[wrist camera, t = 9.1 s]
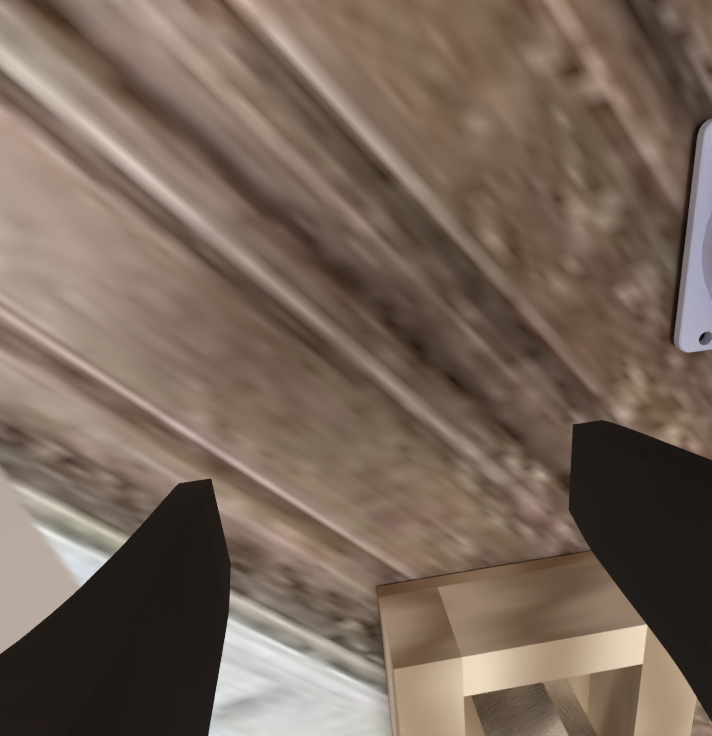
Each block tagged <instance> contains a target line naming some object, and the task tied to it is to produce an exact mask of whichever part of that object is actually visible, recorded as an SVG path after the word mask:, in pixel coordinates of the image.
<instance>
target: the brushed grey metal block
mask: <svg viewBox="0 0 712 736" xmlns="http://www.w3.org/2000/svg"><path fill="white" fill-rule="evenodd" d="M471 696H472V699H473V702H474V705H475V708H476V711H477V714H478V717H479V719H480V722H481V725H482V728H483V731H484V734H485V736H597V734H596V732H595V730H594V728H593V727H592V725H591V723H590V721H589V719H588V717H587V715H586V713H585V711H584V710H583V708H582V706H581V704H580V702H579V700H578V698H577V696H576V695H575V693H574V691H573V689H572V687H571V685H570V683H569V682H568V681H567V680H566V679H565V678H563V679H557V680H552V681H546V682H541V683H535V684H530V685H525V686H519V687H514V688H508V689H503V690H497V691H492V692H486V693H481V694H475V695H471Z"/></svg>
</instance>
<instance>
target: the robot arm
mask: <svg viewBox="0 0 712 736" xmlns="http://www.w3.org/2000/svg"><path fill="white" fill-rule="evenodd" d="M704 332H705V336H704V338H703V339H702V340H701V341H699V338H700V335H701V334H702V333H704ZM674 344H675V346H676V347H677V348H678V349H680V350H682V351H684V352H697V351H704V350H711V349H712V119H709V120H707V121H706V122H705V123H704V124H703V125H702V126H701V128H700V129H699V132H698V136H697V144H696V153H695V161H694V170H693V178H692V187H691V196H690V204H689V213H688V221H687V230H686V239H685V247H684V256H683V265H682V273H681V282H680V290H679V299H678V308H677V316H676V325H675V333H674ZM569 511H570V513H571V515H572V517H573V518H574V520H575V522H576V524H577V526H578V528H579V530H580V532H581V533H582V535H583V537H584V539H585V540H586V542H587V544H588V545H589V547H590V549H591V551H592V552H593V554H594V555H595V556H596V558H597V559H598V561H599V562H600V563H601V565H602V566H603V567H604V569H605V570H606V571H607V573H608V574H609V575H610V577H611V578H612V580H613V581H614V582H615V584H616V585H617V586H618V588H619V589H620V590H621V591H622V593H623V594H624V595H625V597H626V598H627V599H628V601H629V602H630V603H631V605H632V606H633V607H634V609H635V610H636V611H637V613H638V614H639V615H640V617H641V618H642V619H643V620H644V622H645V623H646V624H647V626H648V627H649V628H650V630H651V631H652V632H653V634H654V635H655V636H656V638H657V639H658V640H659V642H660V643H661V644H662V646H663V647H664V648H665V650H666V651H667V652H668V654H669V655H670V657H671V658H672V660H673V661H674V662H675V664H676V665H677V667H678V668H679V670H680V671H681V673H682V674H683V676H684V677H685V679H686V681H687V682H688V684H689V686H690V687H691V689H692V690H693V692H694V694H695V695H696V697H697V699H698V700H699V702H700V703H701V705H702V707H703V708H704V710H705V711H706V713H707V715H708V716H709V718H710V720H711V721H712V460H710V459H707V458H705V457H702V456H699V455H697V454H694V453H692V452H689V451H686V450H684V449H681V448H679V447H676V446H673V445H671V444H668V443H666V442H663V441H661V440H658V439H655V438H653V437H650V436H648V435H645V434H642V433H640V432H637V431H634V430H632V429H629V428H626V427H623V426H620V425H617V424H614V423H611V422H607V421H603V420H600V421H593V422H587V423H580V424H573V435H572V455H571V476H570V496H569ZM230 569H231V563H230V559H229V555H228V550H227V546H226V542H225V537H224V533H223V528H222V524H221V520H220V515H219V511H218V507H217V502H216V498H215V494H214V489H213V485H212V480H211V479H205V480H198V481H192V482H185V483H179V484H178V485H177V486H176V487H175V488H174V489H173V490H172V491H171V492H170V493H169V495H168V496H167V497H166V498H165V499H164V500H163V501H162V502H161V504H160V505H159V506H158V507H157V508H156V509H155V510H154V512H153V513H152V514H151V515H150V516H149V517H148V518H147V520H146V521H145V522H144V523H143V524H142V525H141V526H140V527H139V528H138V529H137V531H136V532H135V533H134V534H133V535H132V536H131V537H130V538H129V539H128V540H127V541H126V543H125V544H124V545H123V546H122V547H121V548H120V549H119V550H118V551H117V552H116V553H115V554H114V555H113V556H112V557H111V558H110V559H109V560H108V561H107V562H106V563H105V564H104V565H103V566H102V567H101V568H100V569H99V570H98V571H97V572H96V573H95V574H94V575H93V576H92V577H91V578H90V579H89V580H88V581H87V582H86V583H85V584H84V585H83V586H82V587H81V588H80V589H79V590H78V591H76V592H75V593H74V594H73V595H72V596H71V597H70V598H69V599H68V600H67V601H65V602H64V603H63V604H62V605H61V606H60V607H59V608H57V609H56V610H55V611H54V612H53V613H52V614H51V615H49V616H48V617H47V618H46V619H44V620H43V621H42V622H41V623H40V624H38V625H37V626H36V627H35V628H34V629H32V630H31V631H30V632H29V633H27V634H26V635H25V636H24V637H23V638H21V639H20V640H19V641H17V642H16V643H15V644H13V645H12V646H11V647H9V648H8V649H6V650H5V651H4V652H3V653H1V654H0V736H208V733H209V727H210V721H211V715H212V709H213V703H214V698H215V692H216V686H217V680H218V674H219V668H220V663H221V657H222V651H223V645H224V639H225V633H226V627H227V620H228V614H229V597H230Z"/></svg>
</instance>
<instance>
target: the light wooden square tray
mask: <svg viewBox="0 0 712 736" xmlns="http://www.w3.org/2000/svg"><path fill="white" fill-rule="evenodd" d="M376 590H377V599H378V608H379V617H380V626H381V635H382V644H383V653H384V662H385V671H386V680H387V689H388V698H389V707H390V716H391V726H392V735H393V736H485V734H484V731H483V728H482V725H481V722H480V719H479V717H478V714H477V711H476V708H475V705H474V702H473V699H472V696H471V695H475V694H481V693H486V692H492V691H497V690H503V689H508V688H514V687H519V686H525V685H530V684H535V683H541V682H546V681H552V680H557V679H563V678H565V679H566V680H567V681H568V682H569V683H570V685H571V687H572V689H573V691H574V693H575V695H576V696H577V698H578V700H579V702H580V704H581V706H582V708H583V710H584V711H585V713H586V715H587V717H588V719H589V721H590V723H591V725H592V727H593V728H594V730H595V732H596V734H597V736H690V733H691V728H692V722H693V716H694V711H695V705H696V699H697V697H696V695H695V694H694V692H693V690H692V689H691V687H690V686H689V684H688V682H687V681H686V679H685V677H684V676H683V674H682V673H681V671H680V670H679V668H678V667H677V665H676V664H675V662H674V661H673V660H672V658H671V657H670V655H669V654H668V652H667V651H666V650H665V648H664V647H663V646H662V644H661V643H660V642H659V640H658V639H657V638H656V636H655V635H654V634H653V632H652V631H651V630H650V628H649V627H648V626H647V624H646V623H645V622H644V620H643V619H642V618H641V617H640V615H639V614H638V613H637V611H636V610H635V609H634V607H633V606H632V605H631V603H630V602H629V601H628V599H627V598H626V597H625V595H624V594H623V593H622V591H621V590H620V589H619V588H618V586H617V585H616V584H615V582H614V581H613V580H612V578H611V577H610V575H609V574H608V573H607V571H606V570H605V569H604V567H603V566H602V565H601V563H600V562H599V561H598V559H597V558H596V556H595V555H594V554H593V552H592V551H587V552H581V553H575V554H569V555H563V556H557V557H551V558H545V559H539V560H533V561H527V562H521V563H515V564H509V565H503V566H497V567H491V568H485V569H479V570H473V571H467V572H461V573H455V574H449V575H443V576H437V577H431V578H425V579H419V580H413V581H407V582H401V583H395V584H389V585H383V586H377V587H376Z"/></svg>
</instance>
